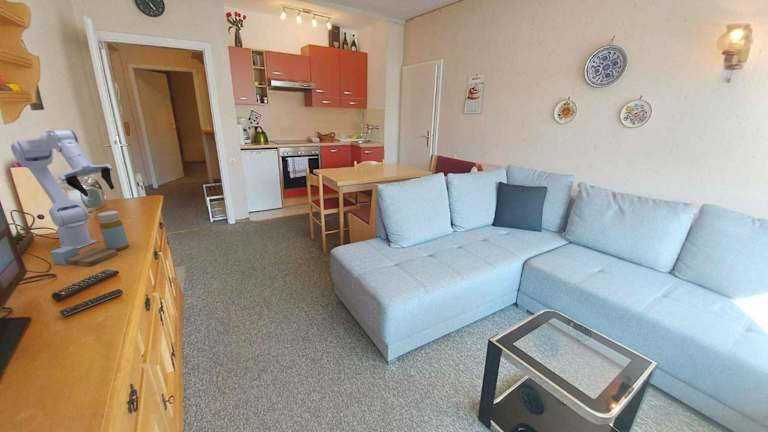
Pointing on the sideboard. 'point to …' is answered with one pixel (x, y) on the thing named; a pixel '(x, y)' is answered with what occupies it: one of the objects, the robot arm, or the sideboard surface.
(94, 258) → the base slab
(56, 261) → the cube
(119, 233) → the bottle
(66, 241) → the robot arm
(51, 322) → the sideboard surface
